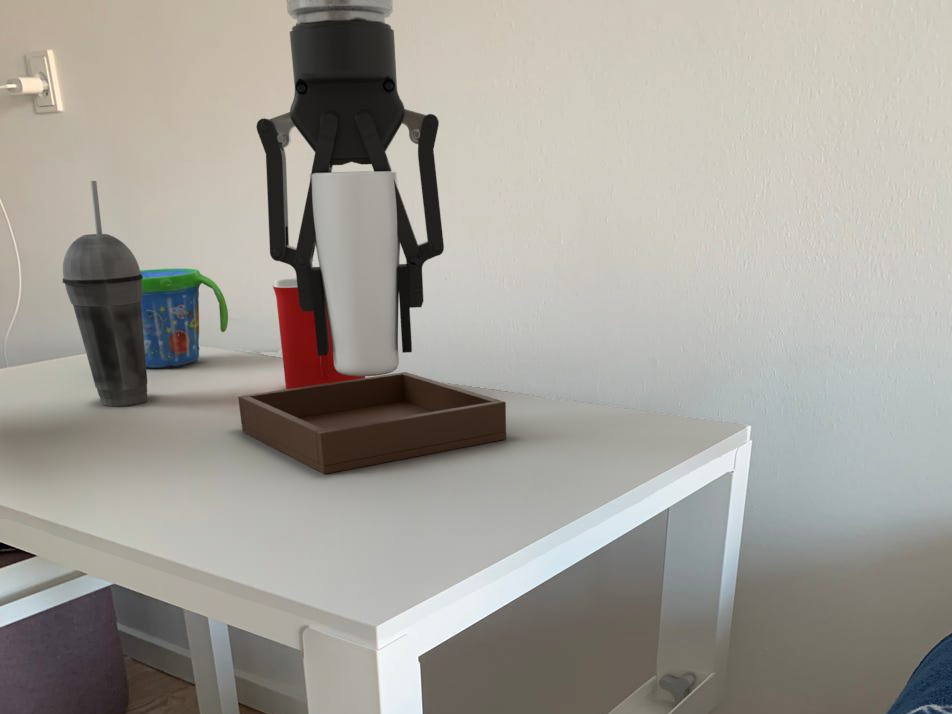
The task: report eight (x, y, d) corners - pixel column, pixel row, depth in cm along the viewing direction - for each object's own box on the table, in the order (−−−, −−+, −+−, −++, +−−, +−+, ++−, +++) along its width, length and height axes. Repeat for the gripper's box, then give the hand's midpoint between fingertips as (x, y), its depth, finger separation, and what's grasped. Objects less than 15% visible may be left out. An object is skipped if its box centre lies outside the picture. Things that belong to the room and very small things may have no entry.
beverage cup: (70, 407, 98) (25, 182, 89) (112, 392, 104) (74, 180, 95) (137, 410, 96) (98, 181, 87) (175, 394, 102) (142, 179, 94)
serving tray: (242, 431, 87) (237, 396, 86) (407, 404, 96) (405, 371, 94) (324, 474, 75) (320, 433, 74) (506, 439, 83) (506, 401, 82)
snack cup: (83, 372, 115) (65, 278, 110) (121, 356, 124) (105, 269, 120) (216, 371, 113) (203, 276, 109) (244, 355, 123) (233, 266, 118)
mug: (285, 386, 105) (274, 278, 100) (364, 381, 106) (356, 275, 101) (284, 411, 94) (271, 292, 90) (372, 406, 95) (363, 288, 91)
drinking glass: (423, 367, 84) (414, 170, 77) (376, 382, 79) (362, 172, 72) (358, 361, 87) (344, 171, 81) (308, 375, 82) (289, 173, 75)
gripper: (197, 18, 68) (241, 363, 78) (476, 12, 69) (484, 354, 79) (216, 31, 75) (254, 347, 85) (470, 25, 76) (479, 339, 86)
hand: (365, 350), depth 82 cm, fingers closed on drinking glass, 6 cm apart
